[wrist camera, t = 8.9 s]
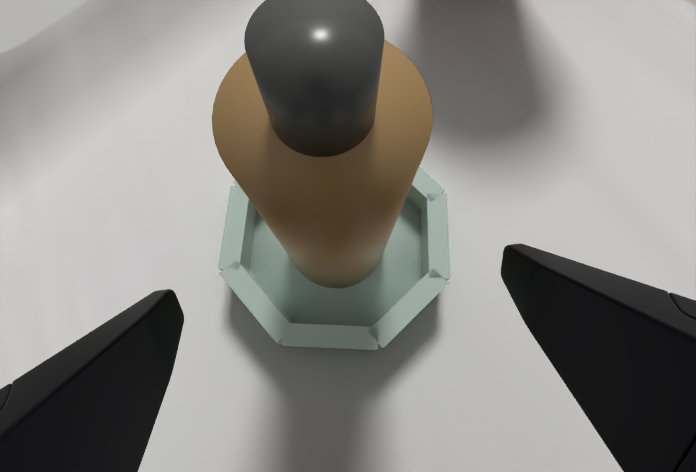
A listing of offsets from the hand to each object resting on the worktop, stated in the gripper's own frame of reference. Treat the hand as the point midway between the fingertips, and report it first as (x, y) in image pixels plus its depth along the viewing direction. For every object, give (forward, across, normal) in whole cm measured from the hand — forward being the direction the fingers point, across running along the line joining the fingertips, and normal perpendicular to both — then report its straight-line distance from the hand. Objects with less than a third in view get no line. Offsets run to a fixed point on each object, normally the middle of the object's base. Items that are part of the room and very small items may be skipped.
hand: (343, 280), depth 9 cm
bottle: (+8, 0, +3) cm, 9 cm away
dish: (+9, 0, +4) cm, 10 cm away
